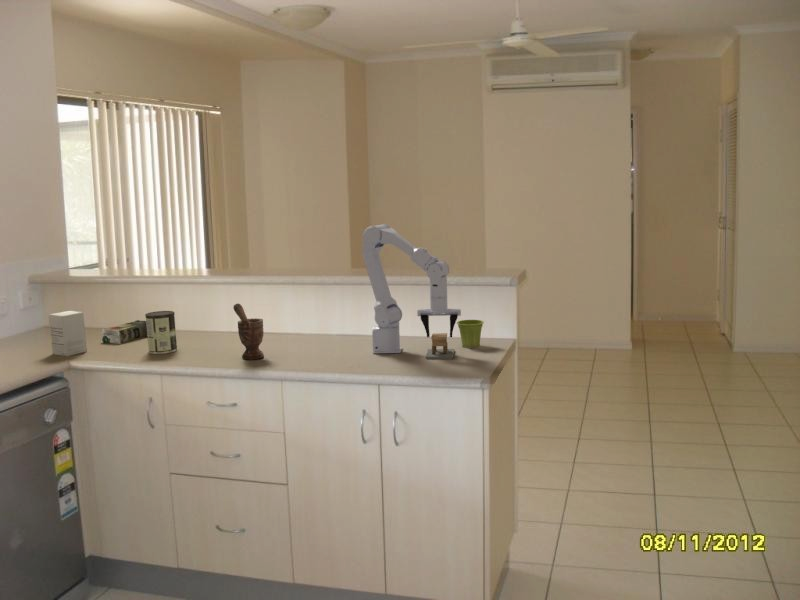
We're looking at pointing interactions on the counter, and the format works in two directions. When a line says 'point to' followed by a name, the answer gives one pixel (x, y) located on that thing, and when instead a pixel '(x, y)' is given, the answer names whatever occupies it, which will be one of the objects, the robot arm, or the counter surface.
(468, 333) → the plant pot
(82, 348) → the supplement box
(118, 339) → the juice carton
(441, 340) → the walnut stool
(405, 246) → the robot arm
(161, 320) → the coffee can
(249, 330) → the mortar and pestle
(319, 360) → the counter surface
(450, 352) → the slate mat
